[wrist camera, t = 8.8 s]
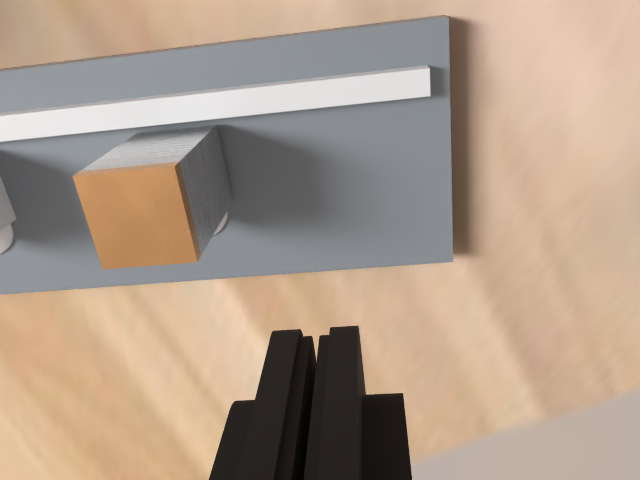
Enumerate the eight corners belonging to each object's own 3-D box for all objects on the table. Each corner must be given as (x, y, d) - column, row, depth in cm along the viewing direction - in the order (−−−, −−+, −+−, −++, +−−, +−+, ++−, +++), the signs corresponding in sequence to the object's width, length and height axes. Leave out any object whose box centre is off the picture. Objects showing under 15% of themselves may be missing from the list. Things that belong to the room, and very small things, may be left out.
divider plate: (-143, 86, 28) (-301, 119, 22) (444, 15, 25) (475, 27, 18) (-50, 286, 33) (-155, 364, 27) (448, 249, 30) (474, 326, 23)
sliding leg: (137, 132, 26) (72, 176, 20) (217, 124, 26) (174, 166, 20) (160, 222, 28) (108, 286, 22) (235, 216, 28) (201, 279, 22)
